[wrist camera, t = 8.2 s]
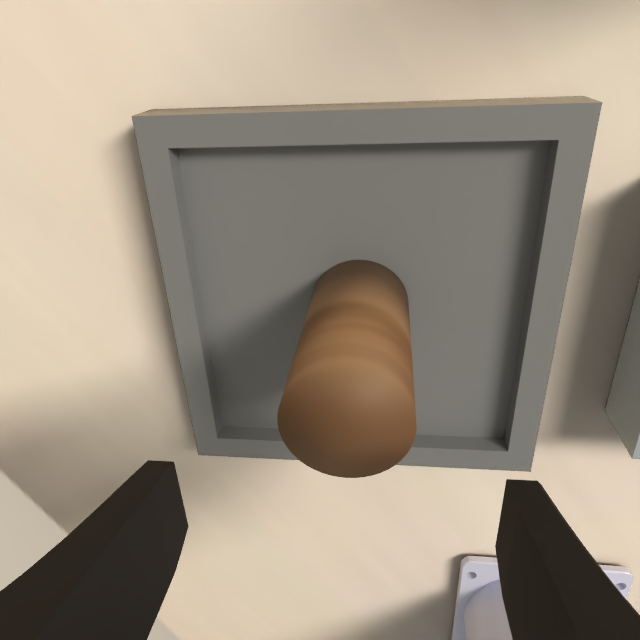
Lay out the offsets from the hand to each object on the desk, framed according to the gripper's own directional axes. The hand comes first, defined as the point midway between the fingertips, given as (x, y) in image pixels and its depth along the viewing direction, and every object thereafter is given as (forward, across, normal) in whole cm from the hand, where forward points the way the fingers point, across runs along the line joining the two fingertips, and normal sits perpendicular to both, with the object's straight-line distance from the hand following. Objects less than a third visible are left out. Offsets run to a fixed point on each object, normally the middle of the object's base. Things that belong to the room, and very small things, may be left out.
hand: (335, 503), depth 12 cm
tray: (+10, 0, 0) cm, 10 cm away
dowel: (+10, 0, 0) cm, 10 cm away
